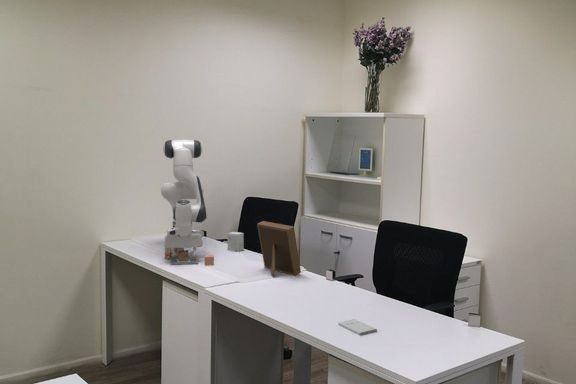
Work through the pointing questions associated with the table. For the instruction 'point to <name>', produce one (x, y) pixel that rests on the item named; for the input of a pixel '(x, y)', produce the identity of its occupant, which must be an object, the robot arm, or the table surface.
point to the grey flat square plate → (176, 261)
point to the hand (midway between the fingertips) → (183, 255)
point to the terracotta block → (209, 260)
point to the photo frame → (279, 248)
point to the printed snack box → (170, 254)
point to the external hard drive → (357, 327)
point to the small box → (235, 241)
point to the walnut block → (183, 255)
